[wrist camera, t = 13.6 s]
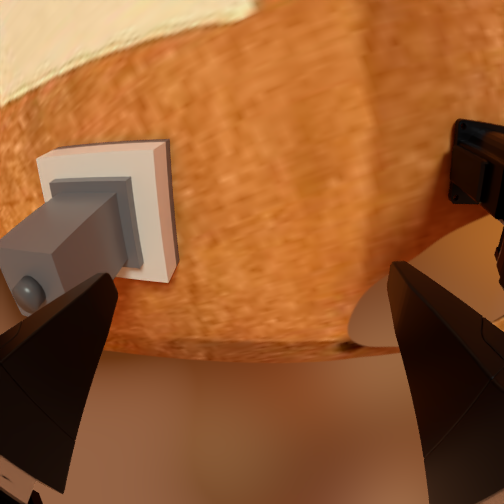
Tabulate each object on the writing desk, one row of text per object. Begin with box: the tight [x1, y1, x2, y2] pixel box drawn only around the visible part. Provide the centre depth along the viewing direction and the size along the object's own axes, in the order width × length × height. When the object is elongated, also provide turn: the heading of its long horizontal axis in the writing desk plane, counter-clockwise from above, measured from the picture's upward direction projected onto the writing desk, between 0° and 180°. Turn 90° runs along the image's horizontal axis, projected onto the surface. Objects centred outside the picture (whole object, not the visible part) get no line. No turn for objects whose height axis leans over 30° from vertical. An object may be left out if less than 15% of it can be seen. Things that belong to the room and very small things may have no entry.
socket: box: [36, 139, 179, 283], centre depth 21 cm, size 10×10×3 cm
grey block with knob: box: [0, 176, 144, 316], centre depth 17 cm, size 7×7×11 cm
